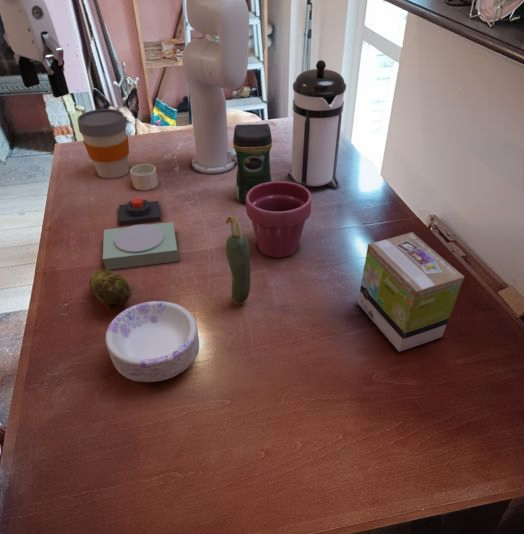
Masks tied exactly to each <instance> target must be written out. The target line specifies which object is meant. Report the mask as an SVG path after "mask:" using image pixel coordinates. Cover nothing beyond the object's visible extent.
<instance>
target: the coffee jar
mask: <svg viewBox="0 0 524 534" xmlns="http://www.w3.org/2000/svg"><path fill="white" fill-rule="evenodd" d="M272 138H273V137H272V132H271V127H270V125H269V123H260V124H259V123H258V124H257V123H256V124H255V123H254V124H236V125H235V126H234V130H233V138H232V139H233V141H232V145H233V149H235V151H236V156H237V158H236V178H235V180H236V181H235V194H236V199H237V200H238V201H239V202H240V203H243V204H246V195H247V193H248V192H249V190H250V189H252V188H253V187H255V186H257V185H259V184H262V183H266V182H273V180H272V173H271V159H270V152H271V149H272V146H273V139H272Z"/></svg>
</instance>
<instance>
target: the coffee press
mask: <svg viewBox="0 0 524 534" xmlns="http://www.w3.org/2000/svg"><path fill="white" fill-rule="evenodd" d="M326 67H327V65H326V61H324V60H323V59H320V60H318V61H317V62H316V64H315V68H313V69H307V70H305V71H302V72H300V74H298V75H297V77H296V78H295V80H294V82H293V83H292V90H293V100H292V112H293V115H292V118H293V119H292V141H291V142H292V143H291V169H290V171H289V172H288V174H287V178H288V179H290V180H291V179H293V180H294V181H295V182H296V183H297V184H299V185H302V186H304V187H305V188H307V189H308V187H320V186H325V185H327V184H328V185H330V187H331V188H332V189H334V190H336V189H337V188H338V187H339V186H340V185H339V184H340V183H339V181H338V180H337V177H336V176H337V165H338V156H339V146H340V137H341V129H342V127H341V126H342V117H343V116H342V115H343V111H344V104H345V101H344V95H345V92H346V90H347V84H346V82H345V79H344V77H343V76H342V75H341V74H340V73H338V72H337V71H334V70H331V69H326ZM332 181H334V183H333V182H332Z"/></svg>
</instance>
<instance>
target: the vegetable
mask: <svg viewBox="0 0 524 534" xmlns="http://www.w3.org/2000/svg"><path fill="white" fill-rule="evenodd" d="M225 223H226V225H229V223H230V231H231V234H230V235H229V237H227V240H226V242H225V253H226V259H227V263H228V267H229V269H230V272H231V276H232V281H231V282H232V283H231V299H232V301H233V302H234V304H235V306H237V305H238V306H239V305H242V304H243V303H244V302H246V301H247V300H248V297H249V294H250V289H251V271H252V270H251V268H252V267H251V266H252V265H251V248H250V243H249V241H248V239H247V237H246V236H245V235H243V229H242V227H241V225H240V223H239V221H238V219H237V218H236V217H234V216H231V215H229V216H227V217H226V218H225Z"/></svg>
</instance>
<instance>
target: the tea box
mask: <svg viewBox="0 0 524 534" xmlns="http://www.w3.org/2000/svg"><path fill="white" fill-rule="evenodd" d="M464 279H465V276H464V275H463V274H462V273H461V272H459V271H458V270H457V269H456V268H455V267H453V266H452V265H451V264H450V263H449V262H448V261H447V260H446V259H444V257H442V256H440V255H439V253H437V252H436V251H435V250H434V249H433V248H432V247H430V246H429V245H428V244H427V243H425V241H423V240H422V239H421V238H419V236H418V235H416V234H415V233H414V232H413V231H411V232H407V233H403V234H401V235H400V234H399V235H397V236H393V237H390V238H386V239H382V240H379V241H376V242H371V243H368V244H367V248H366V253H365V261H364V265H363V272H362V277H361V283H360V288H359V294H358V301H357V304H358V306H360V308H361V309H362V310H363V311H364V313H365V314H366V315H367V316H368V317H369V319H370V320H371V321H372V322H373V323H374V324H375V325H376V326H377V327H378V329H379V330H380V332H381V333H382V334H383V335H384V336H385V337H386V338H387V340H388V341H389V342H390V343H391V345H393V347H394V348H395V349H396V350H397V351H398V352H399V353H400V352H403V351H406V350H409V349H412V348H416V347H417V346H420V345H424V344H426V343H429V342H433V341H435V340H438V339H440V338H443V335H444V332H445V331H446V327H447V325H448V323H449V320H450V317H451V315H452V312H453V309H454V306H455V304H456V301H457V298H458V296H459V293H460V290H461V287H462V285H463V282H464Z"/></svg>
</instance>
